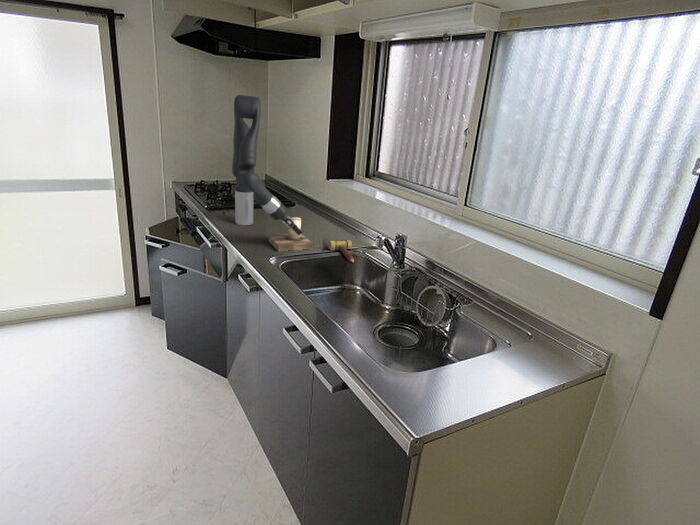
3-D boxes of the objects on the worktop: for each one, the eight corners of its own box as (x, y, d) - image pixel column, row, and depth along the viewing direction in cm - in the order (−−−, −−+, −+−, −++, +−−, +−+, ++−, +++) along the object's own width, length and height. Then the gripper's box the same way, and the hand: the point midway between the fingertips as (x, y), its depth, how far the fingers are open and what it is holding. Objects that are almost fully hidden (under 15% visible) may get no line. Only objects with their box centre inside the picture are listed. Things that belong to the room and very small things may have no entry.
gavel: (364, 256, 191) (342, 257, 188) (363, 266, 193) (341, 267, 190) (349, 238, 209) (328, 239, 206) (348, 247, 211) (328, 248, 208)
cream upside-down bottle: (286, 242, 209) (287, 217, 205) (297, 241, 211) (298, 217, 207) (290, 245, 204) (291, 220, 200) (301, 245, 207) (303, 220, 203)
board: (268, 240, 211) (268, 234, 210) (300, 239, 217) (300, 233, 216) (278, 251, 197) (278, 245, 196) (312, 249, 204) (312, 243, 203)
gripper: (284, 204, 192) (309, 230, 201) (274, 197, 204) (298, 222, 213) (272, 217, 191) (297, 242, 201) (263, 209, 203) (287, 233, 213)
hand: (298, 231), depth 207 cm, fingers closed on cream upside-down bottle, 5 cm apart
